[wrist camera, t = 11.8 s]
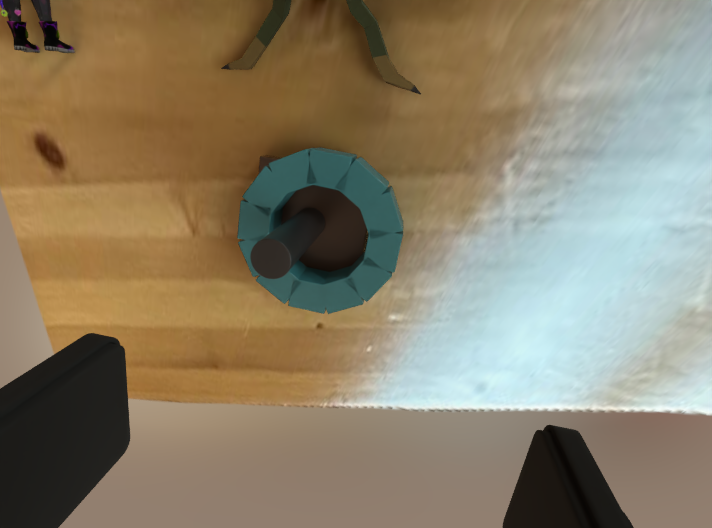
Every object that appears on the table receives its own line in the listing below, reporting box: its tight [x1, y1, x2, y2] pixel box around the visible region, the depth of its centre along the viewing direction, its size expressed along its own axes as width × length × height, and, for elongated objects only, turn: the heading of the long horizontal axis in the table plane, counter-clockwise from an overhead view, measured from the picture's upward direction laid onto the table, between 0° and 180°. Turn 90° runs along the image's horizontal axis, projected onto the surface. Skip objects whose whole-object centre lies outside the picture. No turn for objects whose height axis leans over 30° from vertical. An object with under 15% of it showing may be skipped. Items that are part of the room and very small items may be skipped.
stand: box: [250, 155, 367, 279], centre depth 28 cm, size 9×9×12 cm
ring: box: [237, 147, 403, 314], centre depth 31 cm, size 12×12×3 cm
